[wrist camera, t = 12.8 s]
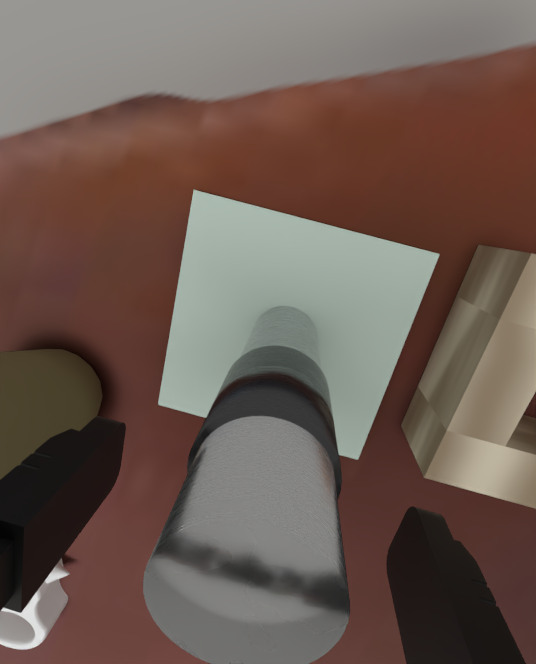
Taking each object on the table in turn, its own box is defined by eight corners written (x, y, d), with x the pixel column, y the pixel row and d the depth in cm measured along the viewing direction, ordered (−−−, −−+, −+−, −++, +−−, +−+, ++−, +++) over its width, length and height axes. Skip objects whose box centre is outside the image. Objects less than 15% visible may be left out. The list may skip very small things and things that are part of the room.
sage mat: (436, 253, 20) (439, 254, 20) (356, 454, 25) (357, 459, 24) (196, 190, 21) (193, 189, 20) (161, 400, 25) (157, 404, 25)
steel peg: (329, 313, 21) (395, 550, 6) (309, 378, 23) (322, 701, 8) (258, 294, 21) (149, 483, 6) (241, 360, 23) (121, 645, 8)
